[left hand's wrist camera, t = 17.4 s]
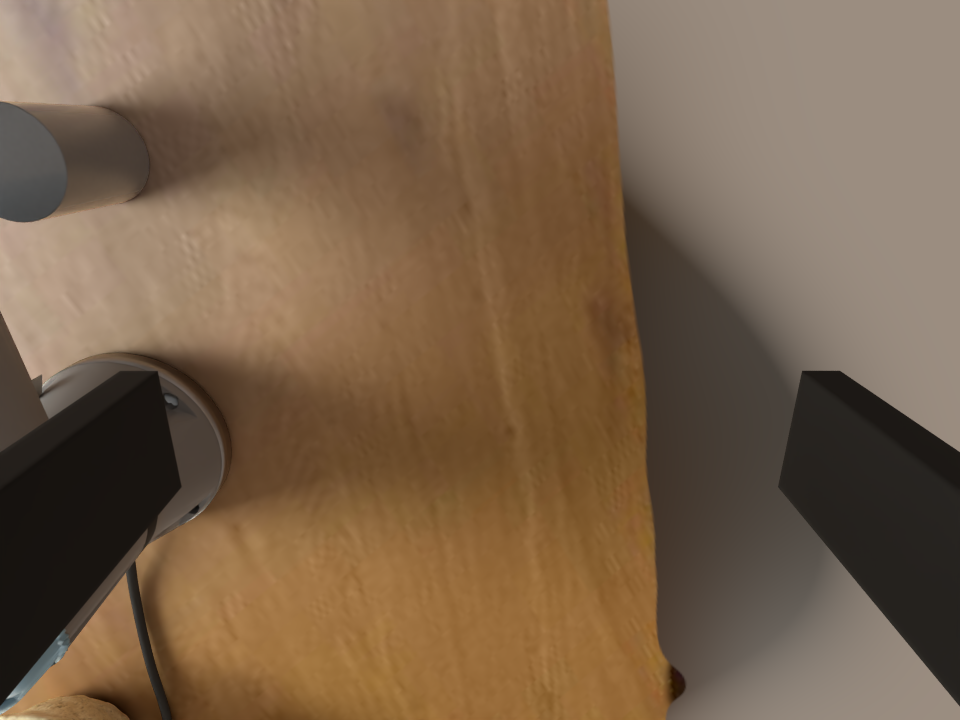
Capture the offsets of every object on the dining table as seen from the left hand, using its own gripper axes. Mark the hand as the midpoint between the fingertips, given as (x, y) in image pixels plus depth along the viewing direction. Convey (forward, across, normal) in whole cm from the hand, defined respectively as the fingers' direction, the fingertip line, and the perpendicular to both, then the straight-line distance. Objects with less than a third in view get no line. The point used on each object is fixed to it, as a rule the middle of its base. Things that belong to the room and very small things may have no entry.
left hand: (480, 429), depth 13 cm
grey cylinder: (+33, +26, -4) cm, 42 cm away
